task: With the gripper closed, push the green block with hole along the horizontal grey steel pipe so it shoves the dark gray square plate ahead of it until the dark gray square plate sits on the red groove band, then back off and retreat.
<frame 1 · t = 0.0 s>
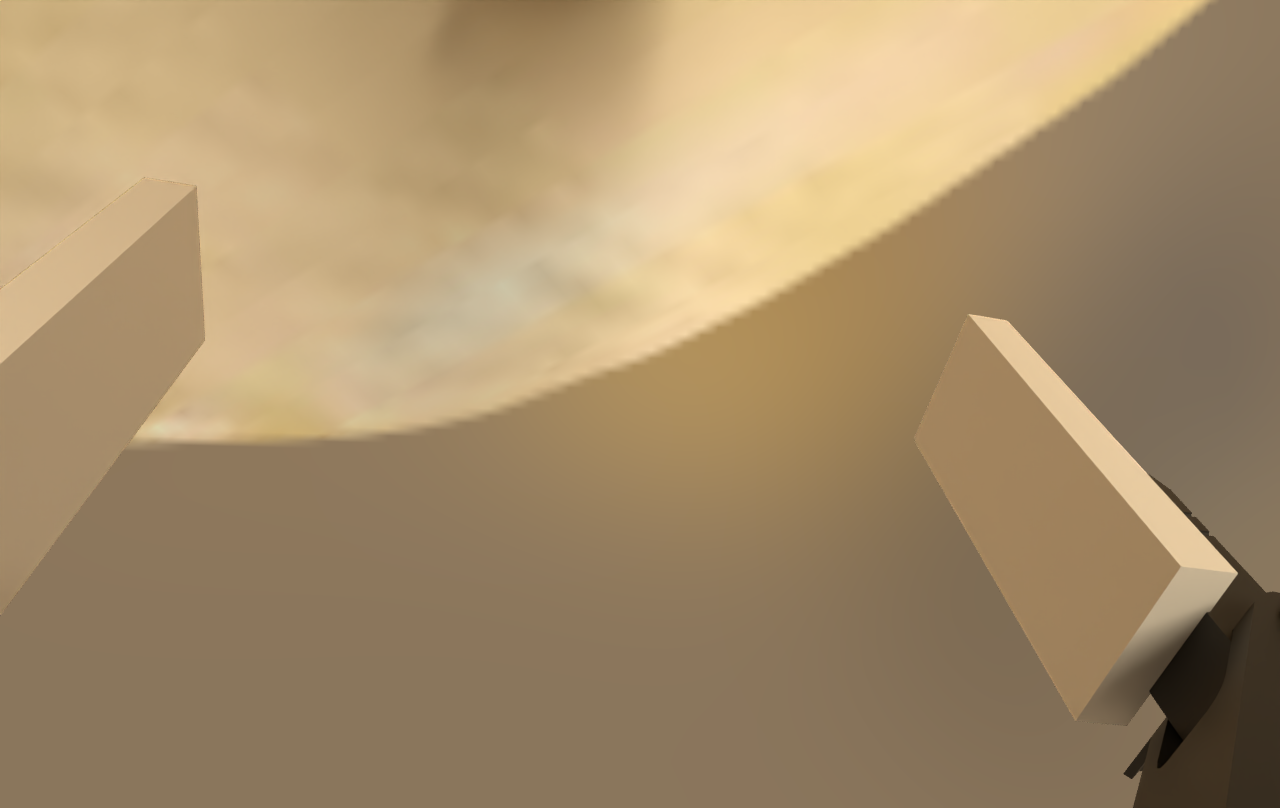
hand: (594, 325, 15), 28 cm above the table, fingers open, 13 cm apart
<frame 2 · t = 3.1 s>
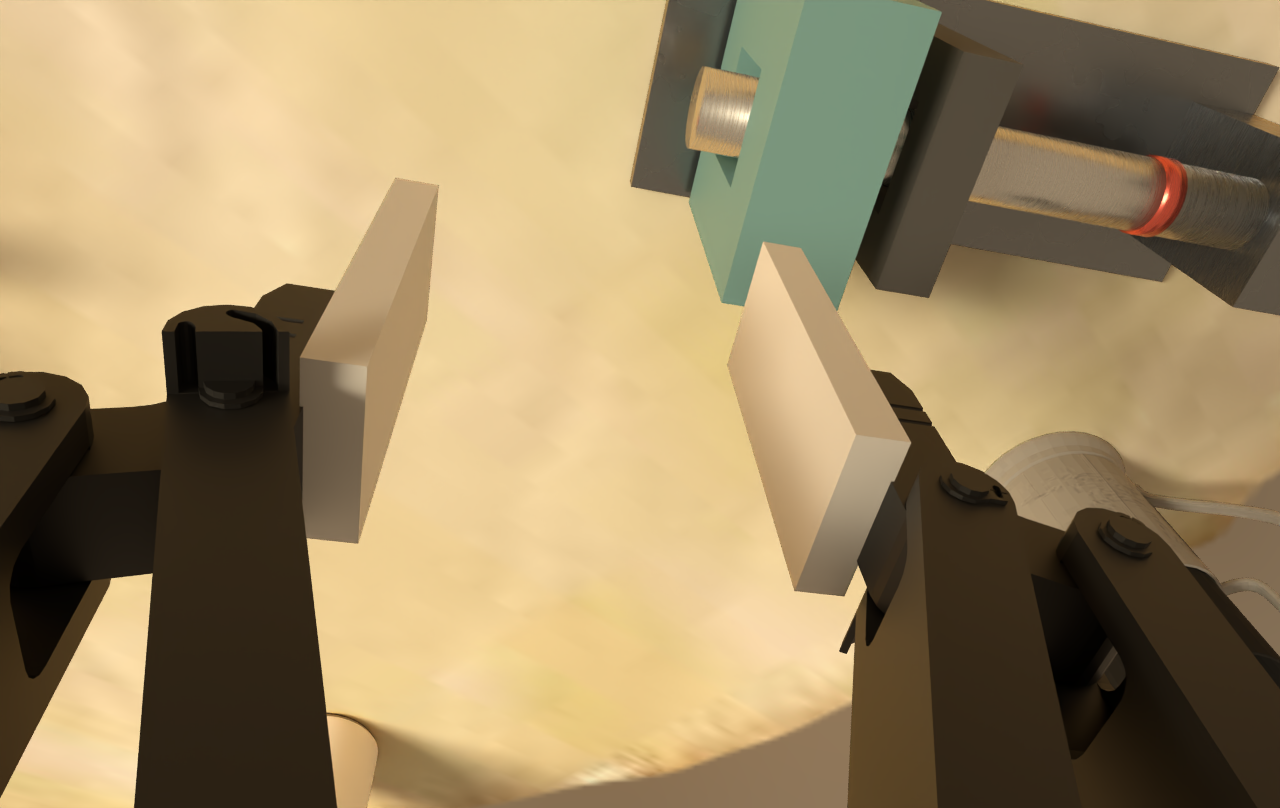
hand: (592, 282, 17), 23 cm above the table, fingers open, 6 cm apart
green block with hole: (789, 126, 32), point 6 cm above the table, slide at 0.0 cm
glass holder: (1092, 475, 50), on the table
pipe: (944, 122, 39), on the table
can: (329, 740, 58), on the table
dark gray square plate: (906, 149, 33), point 6 cm above the table, slide at 0.0 cm
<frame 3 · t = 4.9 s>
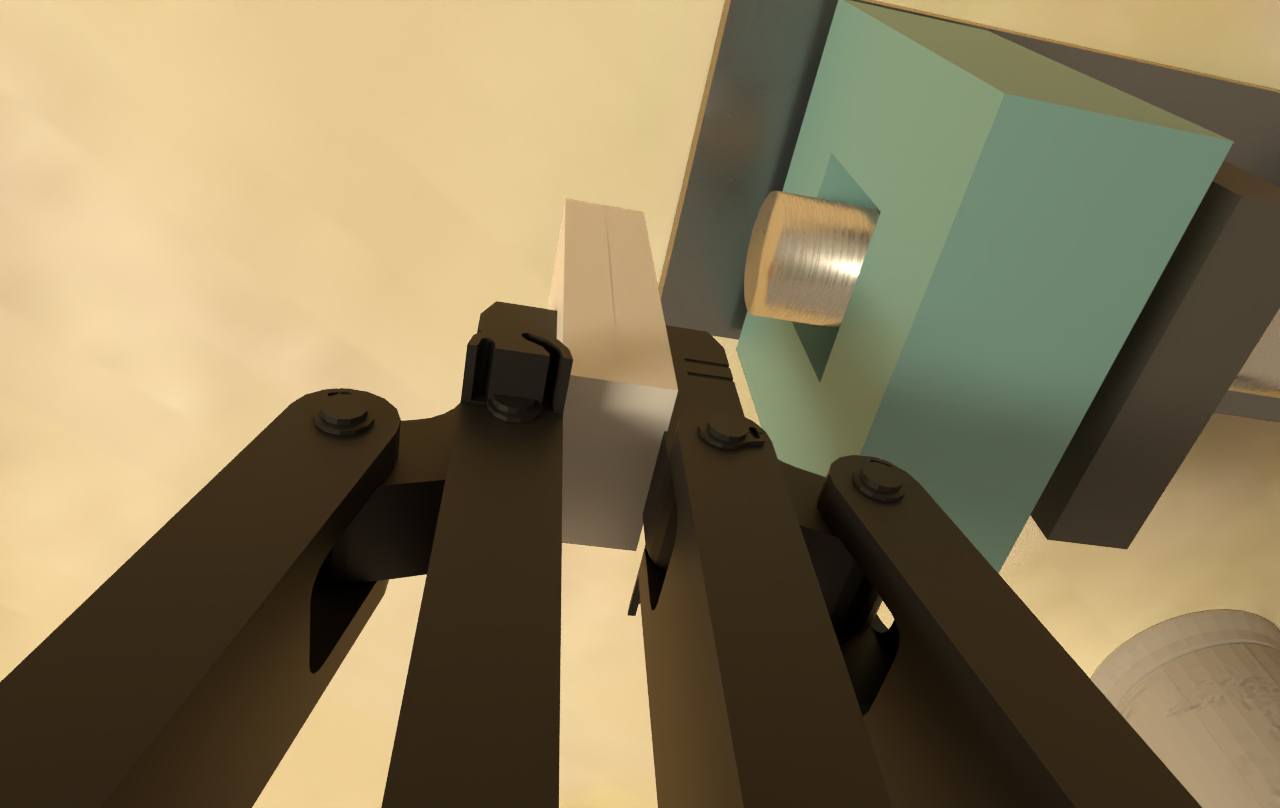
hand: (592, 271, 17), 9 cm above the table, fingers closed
green block with hole: (907, 277, 21), point 6 cm above the table, slide at 0.0 cm
glass holder: (1243, 657, 39), on the table
pipe: (1096, 234, 28), on the table
dark gray square plate: (1081, 307, 21), point 6 cm above the table, slide at 0.0 cm
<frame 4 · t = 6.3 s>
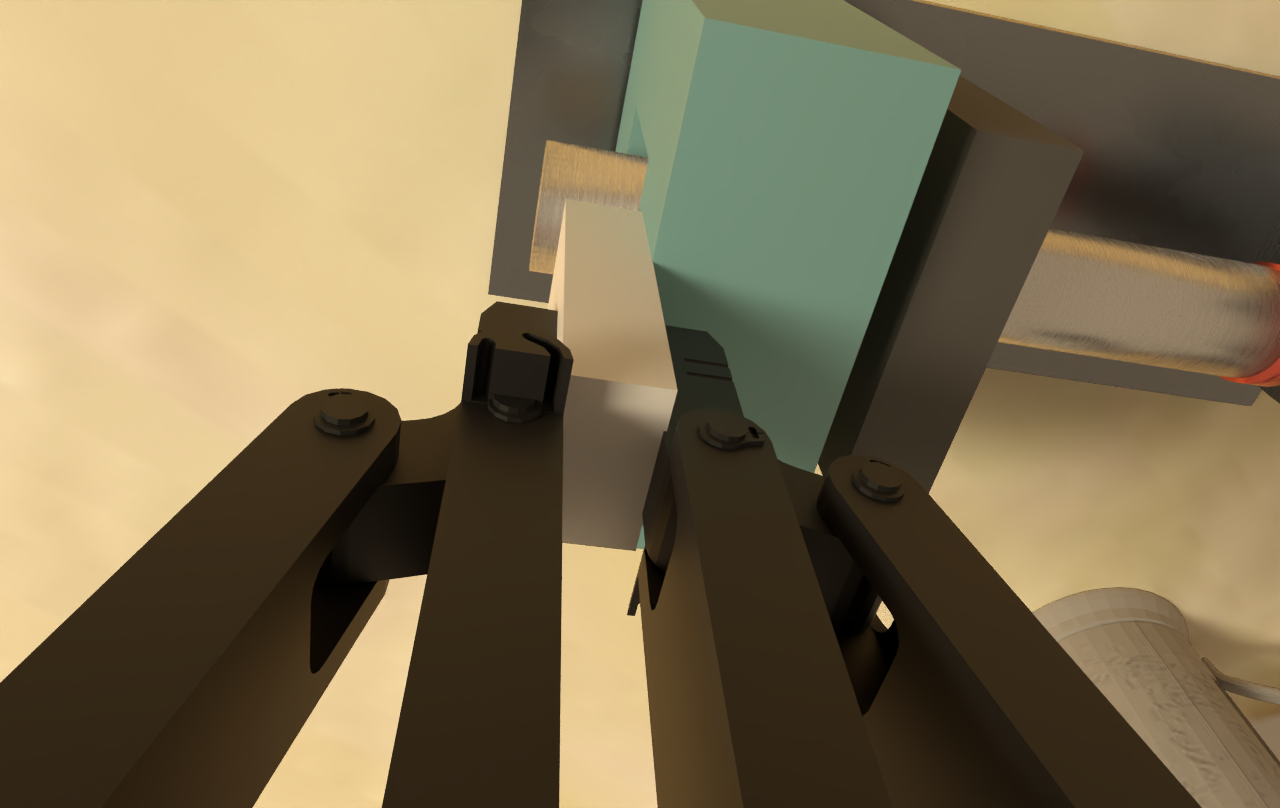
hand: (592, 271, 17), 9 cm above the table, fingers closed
green block with hole: (712, 234, 20), point 7 cm above the table, slide at 0.4 cm, touching gripper
glass holder: (1144, 637, 38), on the table
pipe: (945, 196, 27), on the table
dark gray square plate: (883, 262, 21), point 7 cm above the table, slide at 0.0 cm
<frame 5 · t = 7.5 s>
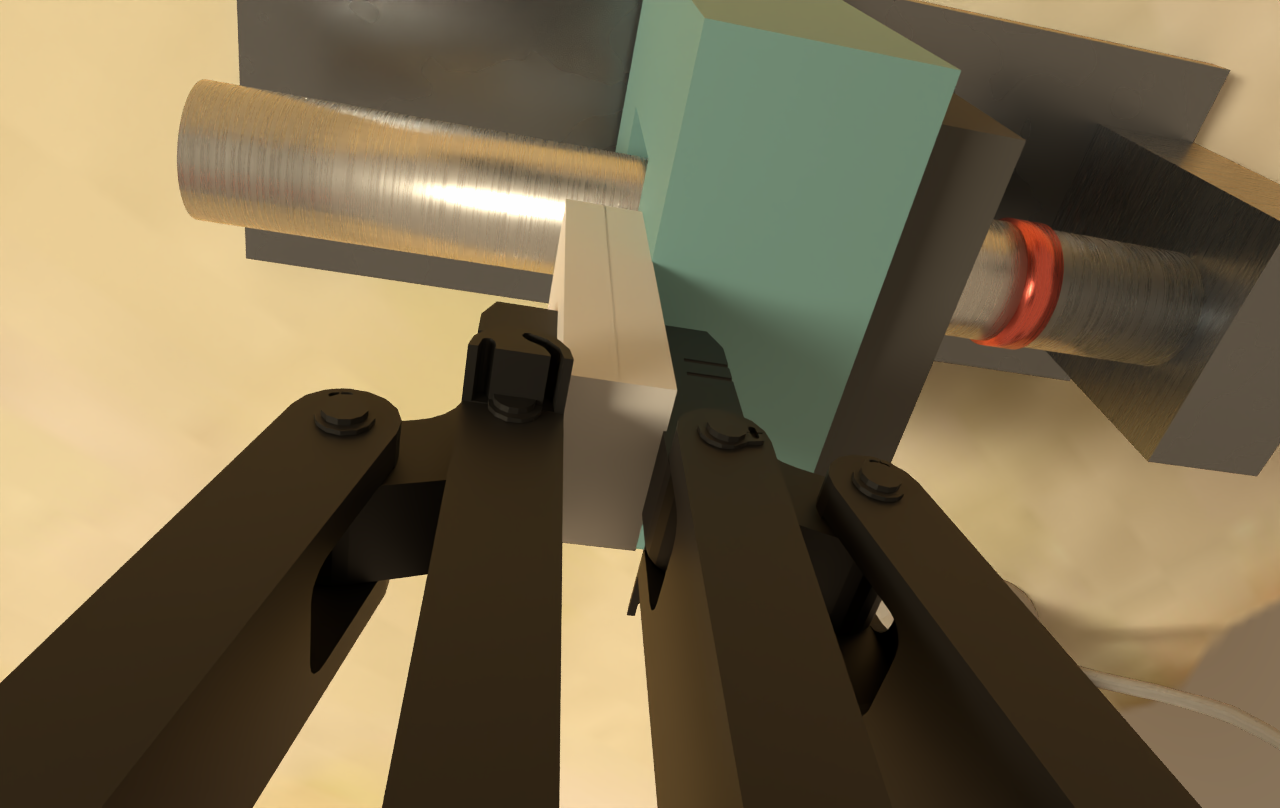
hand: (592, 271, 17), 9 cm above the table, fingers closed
green block with hole: (711, 235, 20), point 7 cm above the table, slide at 7.3 cm, touching gripper, dark gray square plate
glass holder: (995, 623, 37), on the table
pipe: (723, 157, 26), on the table
dark gray square plate: (838, 256, 20), point 6 cm above the table, slide at 5.8 cm, touching green block with hole
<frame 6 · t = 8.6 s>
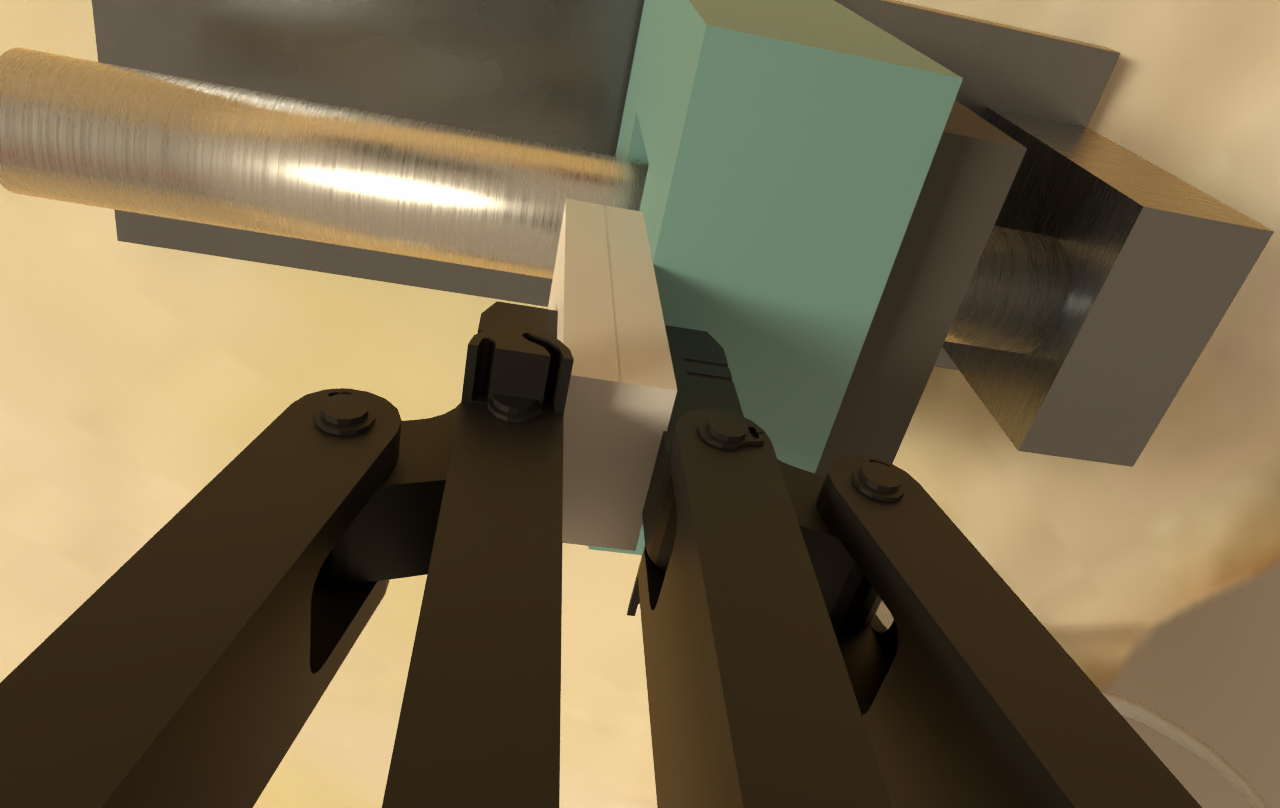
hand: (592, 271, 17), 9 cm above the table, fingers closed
green block with hole: (711, 240, 20), point 7 cm above the table, slide at 10.6 cm, touching gripper, dark gray square plate
glass holder: (917, 620, 36), on the table
pipe: (607, 140, 25), on the table
dark gray square plate: (838, 261, 20), point 7 cm above the table, slide at 9.1 cm, touching green block with hole
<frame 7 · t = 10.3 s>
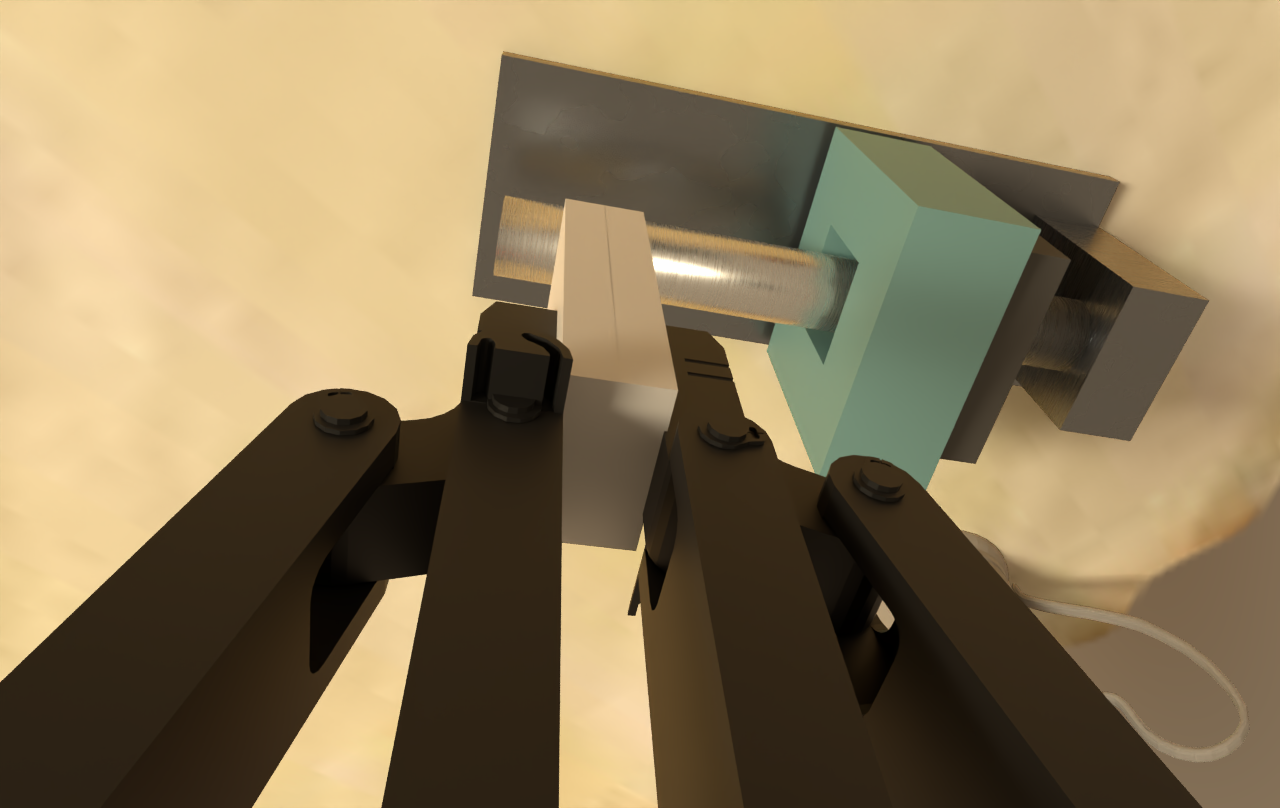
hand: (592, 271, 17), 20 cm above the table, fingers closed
green block with hole: (877, 301, 33), point 7 cm above the table, slide at 10.7 cm, touching dark gray square plate
glass holder: (975, 571, 50), on the table
pipe: (788, 233, 39), on the table
dark gray square plate: (951, 314, 34), point 7 cm above the table, slide at 9.2 cm, touching green block with hole
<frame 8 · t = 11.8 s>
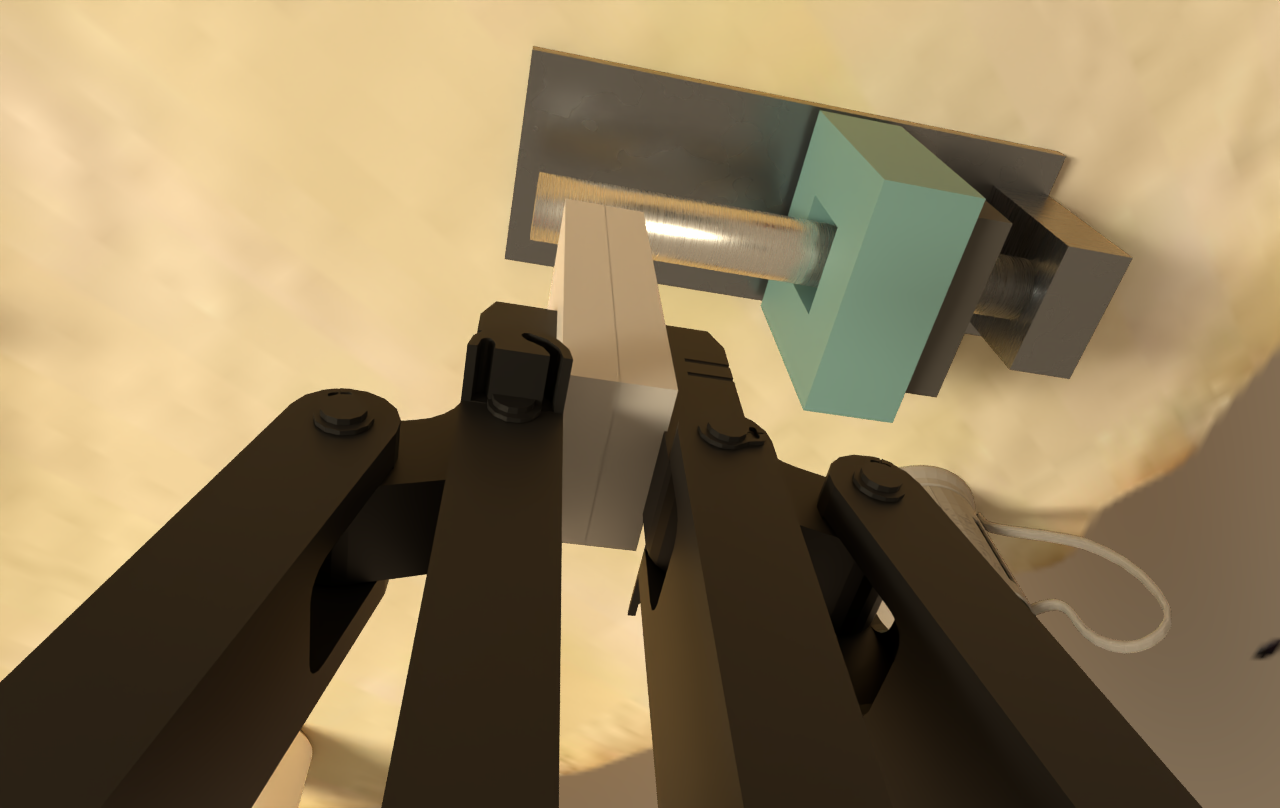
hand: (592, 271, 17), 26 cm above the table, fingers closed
green block with hole: (854, 261, 39), point 7 cm above the table, slide at 10.7 cm, touching dark gray square plate
glass holder: (946, 503, 56), on the table
pipe: (779, 202, 44), on the table
can: (268, 742, 64), on the table
dark gray square plate: (917, 271, 40), point 7 cm above the table, slide at 9.2 cm, touching green block with hole
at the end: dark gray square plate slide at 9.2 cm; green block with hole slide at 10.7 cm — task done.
